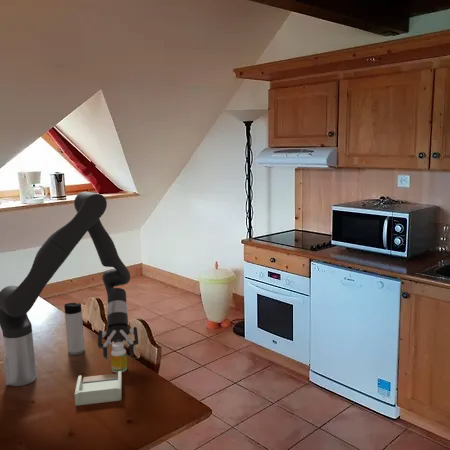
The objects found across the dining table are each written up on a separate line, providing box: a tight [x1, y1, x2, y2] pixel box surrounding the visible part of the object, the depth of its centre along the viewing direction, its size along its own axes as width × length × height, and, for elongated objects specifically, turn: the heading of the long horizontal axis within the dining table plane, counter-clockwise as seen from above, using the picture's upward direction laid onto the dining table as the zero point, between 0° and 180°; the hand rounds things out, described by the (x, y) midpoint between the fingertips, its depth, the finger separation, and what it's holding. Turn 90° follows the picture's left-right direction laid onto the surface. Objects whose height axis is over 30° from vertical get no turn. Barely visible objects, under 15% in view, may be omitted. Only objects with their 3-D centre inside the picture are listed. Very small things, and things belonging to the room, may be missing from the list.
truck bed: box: [74, 371, 123, 406], centre depth 159 cm, size 14×17×4 cm
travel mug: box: [64, 302, 86, 356], centre depth 187 cm, size 6×7×20 cm
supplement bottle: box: [110, 342, 128, 374], centre depth 172 cm, size 5×5×10 cm
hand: (118, 357), depth 172 cm, fingers open, 8 cm apart
